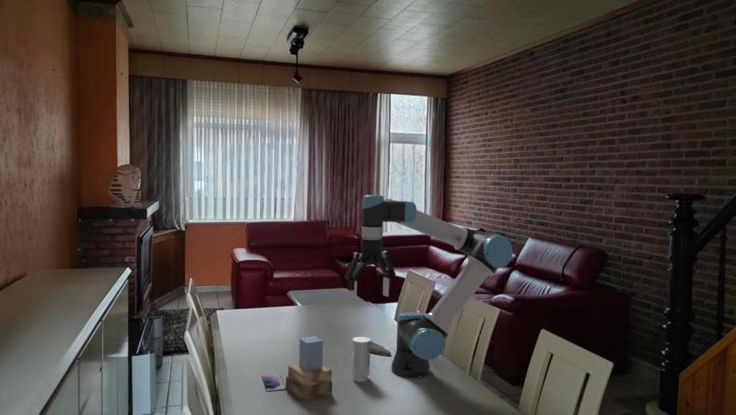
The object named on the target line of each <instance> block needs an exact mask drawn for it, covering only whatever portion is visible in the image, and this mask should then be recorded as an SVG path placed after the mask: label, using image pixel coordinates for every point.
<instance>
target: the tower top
mask: <svg viewBox="0 0 736 415" xmlns="http://www.w3.org/2000/svg"><path fill="white" fill-rule="evenodd" d="M332 372H333V371H332V369H331V368H330V367H328V366H326V365H324V364H323V363H322V369H320V370H314V371H309V372H306V371H305V370H303V369H302V368H301V367H299V363H296V364H292V365H288V374H287V376H288V377H289V378H290V379H292V380H293V381H295V382H296V383H298V384H299V385H300V386H302V387H303V388H304V387H308V386H312V385H317V384H321V383H325V382H330V381H332V374H333V373H332Z"/></svg>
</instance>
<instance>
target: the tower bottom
mask: <svg viewBox="0 0 736 415" xmlns="http://www.w3.org/2000/svg"><path fill="white" fill-rule="evenodd" d="M285 388H286V390H285V391H287V392H288V393H289V394H291V396H293V397H294V398H295V399H297V401H298V402H300V403H301V402H305V401H310V400H315V399H319V398H324V397H328V396H329V397H330V396H332V395H333V381H332V380H331V381H330V382H325V383H321V384H317V385H312V386H308V387H304V388H303V387H302V386H300V385H299V384H298V383H296V382H295V381H293V380H292V379H290V378H289V377H288V375H287V376H285Z"/></svg>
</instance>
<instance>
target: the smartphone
mask: <svg viewBox="0 0 736 415" xmlns="http://www.w3.org/2000/svg"><path fill="white" fill-rule="evenodd" d="M261 380H262V384H263V386H264V391H265V392H266V393H270V392H280V391H282V392H283V391H287V390H286V384H285V383H284V381H283V378H282V375H281V374H280V373H273V374H272V373H271V374H263V375H261Z"/></svg>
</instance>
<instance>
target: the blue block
mask: <svg viewBox="0 0 736 415" xmlns="http://www.w3.org/2000/svg"><path fill="white" fill-rule="evenodd" d="M323 351H324V340H322V339H320V338H319V337H317V336H316V335H314V336H306V337H301V338H299V360H298V362H299V363H298V364H299V367H301V368H302V369H303V370H305V371H306V372H309V371H314V370H320V369H322V364H323V357H324V356H323V355H324V354H323Z"/></svg>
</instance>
